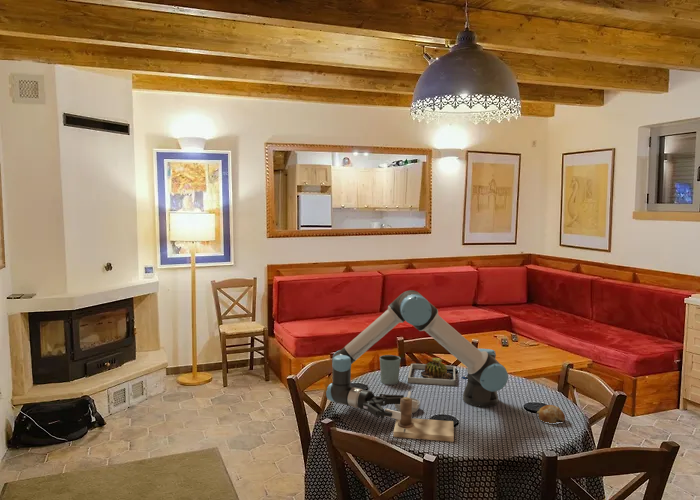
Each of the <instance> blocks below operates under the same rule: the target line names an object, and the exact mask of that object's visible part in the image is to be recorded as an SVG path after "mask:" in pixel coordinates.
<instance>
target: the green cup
mask: <svg viewBox="0 0 700 500" xmlns="http://www.w3.org/2000/svg"><path fill="white" fill-rule="evenodd" d="M401 359H402V358H401V357H400V356H398V355H396V354H395V355H394V354H384V355H381V356H379V369H380V383H381V384H384V385H388V386H389V385H392V386H393V385H397V384H399V380H400V378H399V377H400V368H401V367H400V365H401Z"/></svg>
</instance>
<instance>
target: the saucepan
mask: <svg viewBox="0 0 700 500" xmlns="http://www.w3.org/2000/svg"><path fill="white" fill-rule="evenodd" d="M411 394H412V390H411V391H410V390H408V392H407V396H406V397H408V398H411V399H412V400H414V401H417V408H412V414H416V412H418V410H419V408H420V406H421V401H420V399H416V398H413V397H411ZM393 405H394V407H395V410H396V411H398V412H400V404H393Z"/></svg>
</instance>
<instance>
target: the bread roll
mask: <svg viewBox="0 0 700 500" xmlns="http://www.w3.org/2000/svg"><path fill="white" fill-rule="evenodd" d="M536 414H537V415H538V416H537V417H539V418H538V420H539V419H540V420H542V421H544V422H549V423H556V422H563V421H564V422H565V421H566V416H565V413H564V412H563V410H562V409H561V408H560V407H559V406H556V405H553V404H547V405H544V406H541V407H540V408H539V410H537V412H536ZM540 420H539V421H540ZM542 421H541V422H542ZM544 422H543V423H544Z"/></svg>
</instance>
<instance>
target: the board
mask: <svg viewBox="0 0 700 500" xmlns="http://www.w3.org/2000/svg"><path fill="white" fill-rule="evenodd" d="M399 421H400V420H398V419H395V424H394V429H393V438H404V439H416V440H417V439H418V440H428V441H429V440H430V441H440V442H442V441H443V442H450V443H451V442H454V437H455V432H454V430H455V429H454V421H453V420H442V419H441V420H438V419H429V418H427V419H425V418H415V417H414V418H413V417H412V422H413V423H414V426H413V427H411V428H402V427H399V426H398V422H399Z"/></svg>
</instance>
